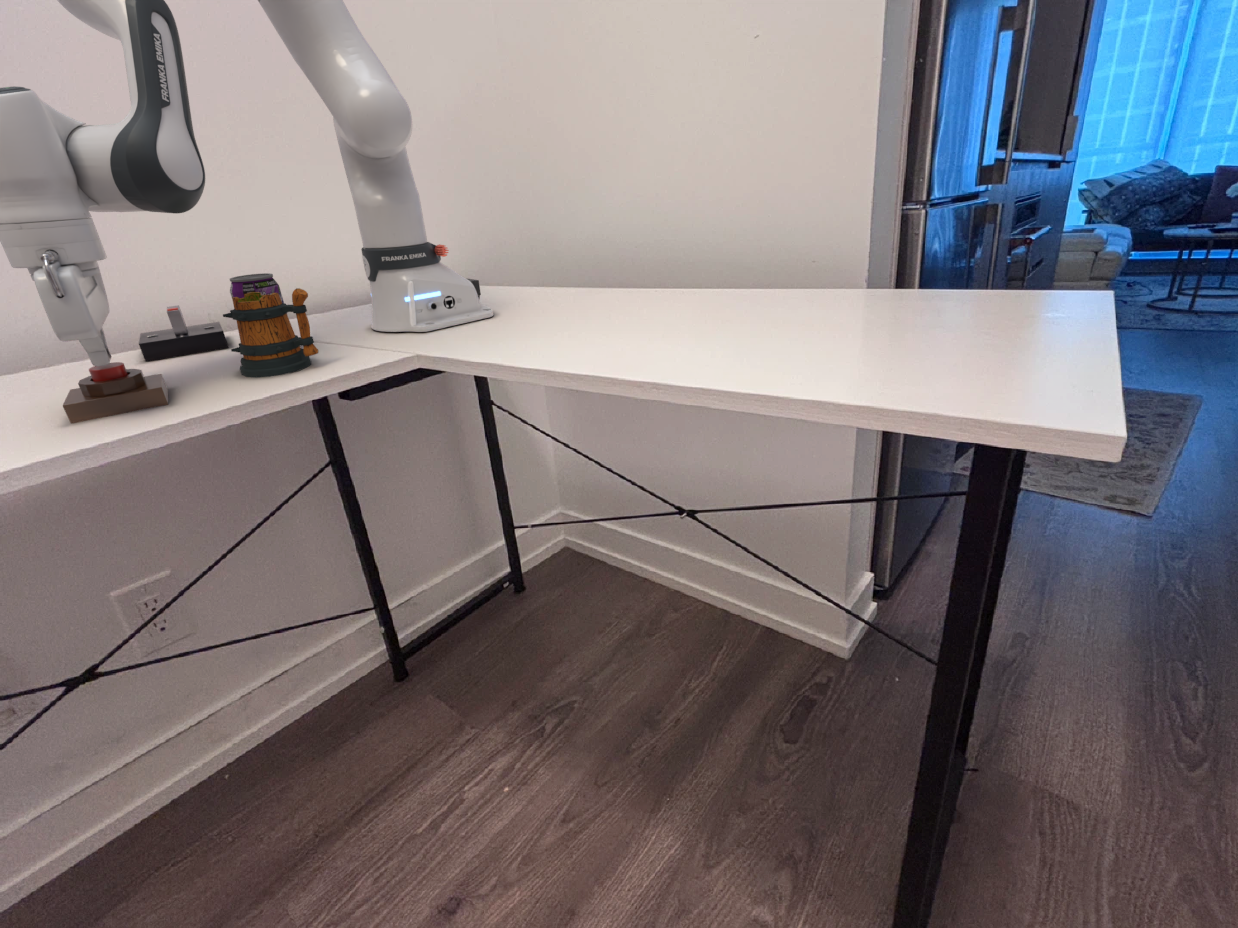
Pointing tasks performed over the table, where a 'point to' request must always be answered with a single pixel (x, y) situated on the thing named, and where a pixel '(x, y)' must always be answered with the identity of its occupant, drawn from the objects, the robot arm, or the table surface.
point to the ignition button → (108, 371)
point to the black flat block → (182, 341)
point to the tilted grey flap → (177, 320)
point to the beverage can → (254, 285)
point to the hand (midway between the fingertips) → (103, 363)
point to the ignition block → (115, 396)
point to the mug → (271, 334)
